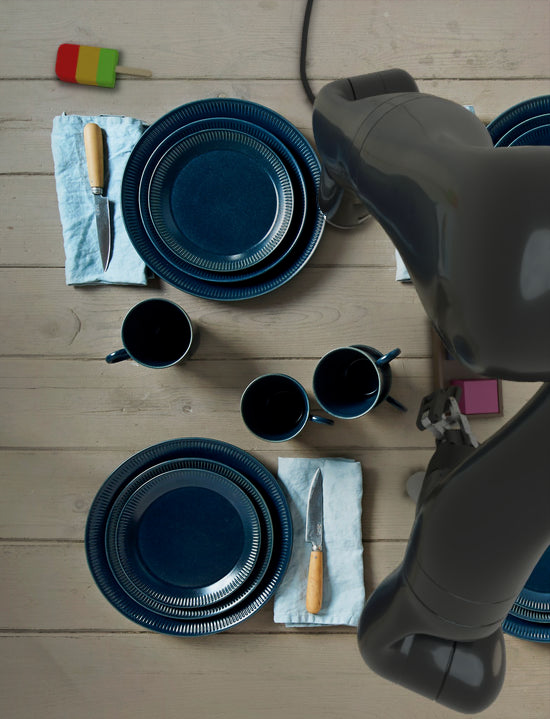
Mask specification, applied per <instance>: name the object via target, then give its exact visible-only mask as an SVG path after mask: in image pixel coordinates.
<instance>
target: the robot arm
mask: <svg viewBox="0 0 550 719" xmlns="http://www.w3.org/2000/svg"><path fill="white" fill-rule="evenodd" d="M306 2H307V3H306V7H305V12H304V16H303V17H304V18H303V24H302V31H301V44H300V57H299V75H300V80H301V84H302V87H303V89H304V92H305V94H306V97H307V98H308V100H309V101H310V103H311V104H312V106H313V107H312V112H311V114H312V115H311V126H312V127H311V129H312V134H313V140H314V143H315V146H316V149H317V153H318V155H319V157H320V159H321V165H320V166H321V167H320V173H319V174H320V175H319V183H318V188H317V192H318V204H319V207H320V210H321V211H322V213H323V214H324V215H325V216H326V221H325V222H326V223H327V224H329V225H330V226H332V227H333V228H336V229H339V230H345V231H346V230H354V229H357V228H360V227H362V226H364V225H365V224H366V223H367V222H369V221H370V219H372V218H373V219H374V220H375V221H376V222H377V223H378V224H379V225H380V227H381V229H383V231H384V232H385V234H386V235H387V237H388V238H389V240H390V241H391V243H392V245H393V246H394V248H395V249H396V251H397V253H398V254H399V256H400V259H401V261H402V263H403V265H404V267H405V269H406V272H407V274H408V276H409V279H410V281H411V283H412V285H413V286H414V290H415V292H416V294H417V296H418V298H419V301H420V303H421V306H422V307H423V309H424V312H425V313H426V317H427V318H428V320H429V322H430V325H431V324H432V326H433V328H434V330H435V332H436V333H437V335H438V337H439V338H440V340H441V342H442V343H443V345H444V346H445V347H446V349H447V350H448V351H449V352H450V354H451V355H452V356H453V357H454V358H455V359H456V360H457V361H458V362H459V363H460V364H462V365H463V366H464V367H466V368H467V369H468V370H470V371H472V372H474V373H477V374H479V375H481V376H486V377H490V378H494V379H499V380H502V381H506V382H514V383H542V384H541V385H540V386H539V388H538V389H537V390H536V392H535V393H534V394H533V395H532V396H531V397H530V399H529V400H528V401H527V402H526V403H525V404H524V405H523V406H522V407H521V408H520V409H519V410H518V411H517V412H516V413H515V414H514V415H513V416H512V417H511V418H510V419H509V420H507V421H506V422H505V423H504V424H503V425H502V426H501V427H500V428H499V429H498V430H496V431H495V432H494V433H493V434H492V435H490V436H488V438H486V439H485V440H484V441H483V442H482V443H481V442H479V441H478V439H477V437H476V436H475V435H474V433H473V432H472V429H471V426H470V423H469V420H468V419H467V417H466V416H465V415H463V414H461V413H460V410H459V407H458V404H459V401H460V397H461V393H462V389H461V387H460V386H459V385H457V386H455V387H454V385H452V386H450V387H448V388H447V389H445V390H443V389H442V388H438V389H437V390H436V391H435V390H434V391H432V392H431V393H429V394H427V395H425V396H423V397H422V399H421V403H420V406H419V410H418V414H417V417H416V422H415V425H416V428H417V429H418V430H419V431H420V432H424V431H426V430H428V431H429V432H430V433H431V434H432V435H433V436H434V437H435V439H434V442H435V448H436V449H435V451H434V453H433V454H432V456H431V457H430V459H429V461H428V464H427V467H426V470H425V472H426V474H425V477H424V480H423V484H422V487H421V490H420V494H419V497H418V500H417V504H416V503H415V512H414V520H413V523H412V526H411V530H410V535H409V536H408V541H407V543H406V547H405V552H404V557H403V559H402V561H400V564H398V565H397V566H396V568H395V569H394V570H392V571H391V572H390V573H389V574H387V576H386V577H385V578H383V580H381V581H380V583H379V584H378V585H377V586H376V587H375V589H374V590H373V591H372V593H371V594H370V595H369V597H368V599H367V600H366V602H365V604H364V606H363V608H362V611H361V612H360V616H359V619H358V623H357V627H356V628H357V629H356V644H357V648H358V650H359V651H358V652H359V655H360V656H361V659H362V660H363V662H364V664H365V665H366V666H367V668H368V669H369V670H370V671H372V672H373V673H374V674H375V675H377V676H379V677H380V678H382V679H384V680H386V681H388V682H390V683H392V684H395V685H398V686H399V687H401V688H403V689H407V690H408V691H409V692H413V693H414V694H417V695H419V696H421V697H423V698H425V699H428V700H430V701H432V702H435V703H436V704H438V705H441V706H443V707H445V708H447V709H448V710H449V709H450V710H452V711H454V712H457V713H460V714H463V715H477V714H480V713H482V712H485V711H486V710H487V709H489V708H490V707H491V706H492V705H493V704H494V703H495V702H496V700H497V699H498V697H499V695H500V693H501V691H502V689H503V686H504V683H505V679H506V672H507V649H506V641H505V636H504V630H503V626H502V624H503V623H504V621H505V620H506V619H507V617H508V615H509V612H510V611H511V609H512V608H513V606H514V605H515V603H516V601H517V599H518V597H519V595H520V594H521V592H522V590H523V589H524V587H525V585H526V583H527V581H528V580H529V578H530V576H531V574H532V572H533V570H534V569H535V567H536V566H537V564H538V562H539V561H540V559H541V558H542V556H543V554H544V553H545V552H546V550H547V549H548V547H549V546H550V145H516V146H515V145H514V146H500V147H499V146H498V147H496V146H494V143H493V138H492V137H491V134H490V132H489V130H488V128H487V127H486V124H484V122H482V120H481V119H480V118H479V116H478V115H476V114H475V113H473V111H471V110H470V109H468V108H467V107H465V106H464V105H462V104H460V103H458V102H455V101H454V100H451V99H448V98H444V97H441V96H438V95H435V94H431V93H427V92H426V93H425V92H420V89H419V86H418V84H417V81H416V80H415V79H414V77H413V76H412V74H410V73H409V72H408V71H406V70H405V69H402V68H399V67H395V68H388V69H384V70H379V71H374V72H369V73H363V74H358V75H354V76H350V77H349V76H348V77H347V78H346V77H345V78H340V79H337V80H333V81H331V82H328V83H327V84H325V85H323V86H322V88H320V89H319V91H318V92H317V94H316V96H315V94H314V93H313V91H312V89H311V86H310V84H309V81H308V80H309V79H308V77H307V69H306V68H307V66H306V62H307V50H308V48H307V47H308V35H309V27H310V20H311V14H312V10H313V9H312V8H313V5H314V4H313V3H314V0H307V1H306ZM316 206H317V208H318V205H317V204H316ZM449 410H450V411H451V416H449V417H448V418H446V417H445V414H444V413H446V412H447V411H449ZM457 426H459V428H455V427H457Z"/></svg>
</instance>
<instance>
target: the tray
mask: <svg viewBox="0 0 550 719" xmlns="http://www.w3.org/2000/svg"><path fill="white" fill-rule="evenodd" d="M430 328H431V329H430V330H431V347H432V362H433V363H432V365H433V383H434V391H436V390H437V389H438V388H442V389H443V390H445V389H447V388H448V387H450V386H451V381H450V380H455V379H474V378H483V379H493V380H497V396H498V412H496V413H475V414H465V413H461V412H460V413H461V414H463V415H465V416H466V417H467V420H468V419H487V418H503V417H504V416H505V415H504V396H503V382H502V381H503V380H499V379H494V378H490V377H486V376H481V375H479V374H477V373H474V372H472V371H470V370H468V369H467V368H466V367H464V366H463V365H462V364H460V363H459V362H458V361H457V360H446V351H445V346H444V345H443V343H442V342H441V340H440V338H439V337H438V335H437V333H436V332H435V330H434V328H433V326H432V324H431V323H430ZM444 414H445V417H446V418H448V417H449V416H451V411H450V410H449V411H447V412H446V413H444Z"/></svg>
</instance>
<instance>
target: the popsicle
mask: <svg viewBox="0 0 550 719" xmlns="http://www.w3.org/2000/svg"><path fill="white" fill-rule="evenodd" d="M119 56H120V53H119V50H118V49H114V48H109V47H108V48H107V47H100V46H99V47H98V46H91V45H90V46H89V45H83V44H75V43H66V42H65V43H61V44H60V45H59V46H58V48H57V52H56V58H55V59H56V60H55V67H54V72H55V75H56V76H57V78H58V79H59V80H60V81H62V82H66V83H73V84H81V85H88V86H95V87H96V86H97V87H104V88H112V89H113V88H114V87H115V84H116V78H117V74H124V75H130V76H131V75H132V76H140V77H152V74H153V72H152V70H151V69H147V68H138V67H131V66H122V65H118V63H119Z"/></svg>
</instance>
